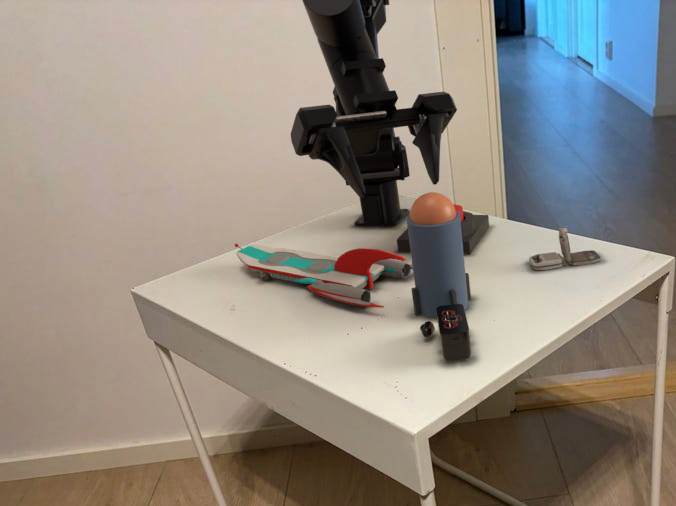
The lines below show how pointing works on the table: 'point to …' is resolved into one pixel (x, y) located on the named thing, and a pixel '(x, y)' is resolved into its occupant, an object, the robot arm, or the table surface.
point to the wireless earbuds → (451, 332)
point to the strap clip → (556, 259)
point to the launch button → (460, 210)
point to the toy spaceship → (327, 270)
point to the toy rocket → (437, 255)
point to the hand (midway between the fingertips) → (400, 189)
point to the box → (470, 229)
